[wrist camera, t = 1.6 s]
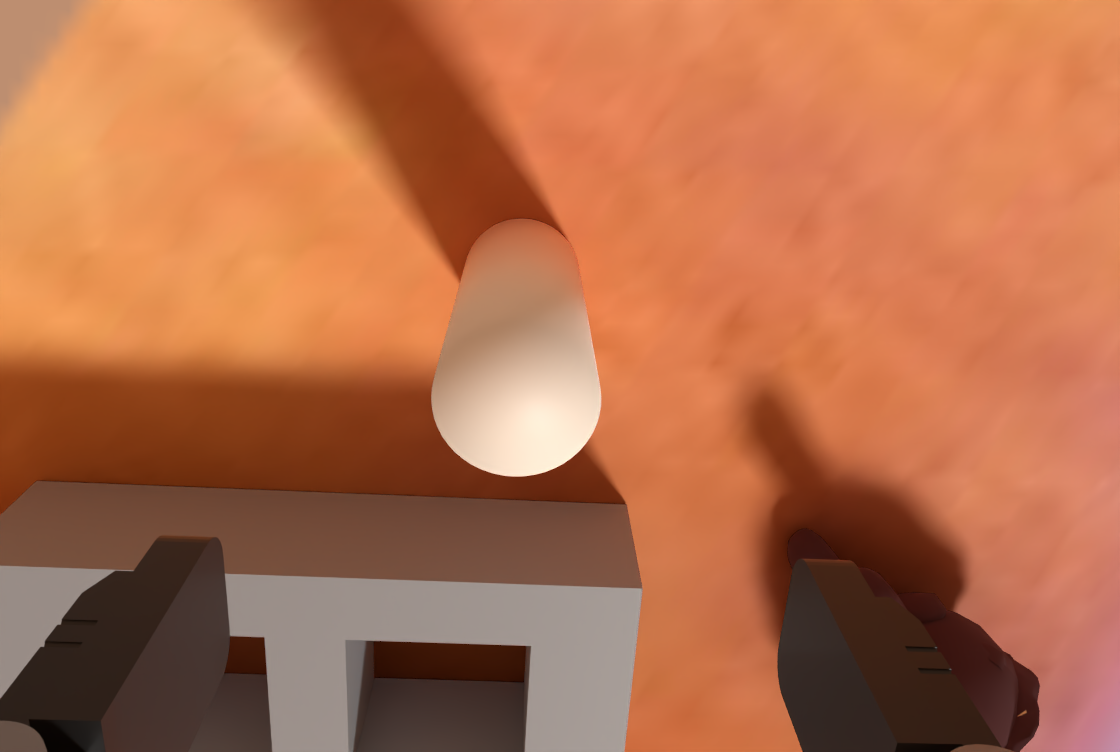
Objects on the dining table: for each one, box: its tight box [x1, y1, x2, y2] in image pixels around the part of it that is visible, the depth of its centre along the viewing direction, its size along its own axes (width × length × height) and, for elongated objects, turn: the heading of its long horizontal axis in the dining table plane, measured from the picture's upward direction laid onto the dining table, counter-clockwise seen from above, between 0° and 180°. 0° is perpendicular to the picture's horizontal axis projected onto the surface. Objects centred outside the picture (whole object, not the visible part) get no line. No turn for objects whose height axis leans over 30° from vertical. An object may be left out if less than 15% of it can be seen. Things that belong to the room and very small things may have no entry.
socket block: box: [0, 481, 642, 752], centre depth 31 cm, size 20×10×5 cm, turn 86°
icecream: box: [788, 529, 1040, 752], centre depth 32 cm, size 7×7×15 cm
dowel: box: [431, 218, 601, 476], centre depth 24 cm, size 4×4×10 cm
